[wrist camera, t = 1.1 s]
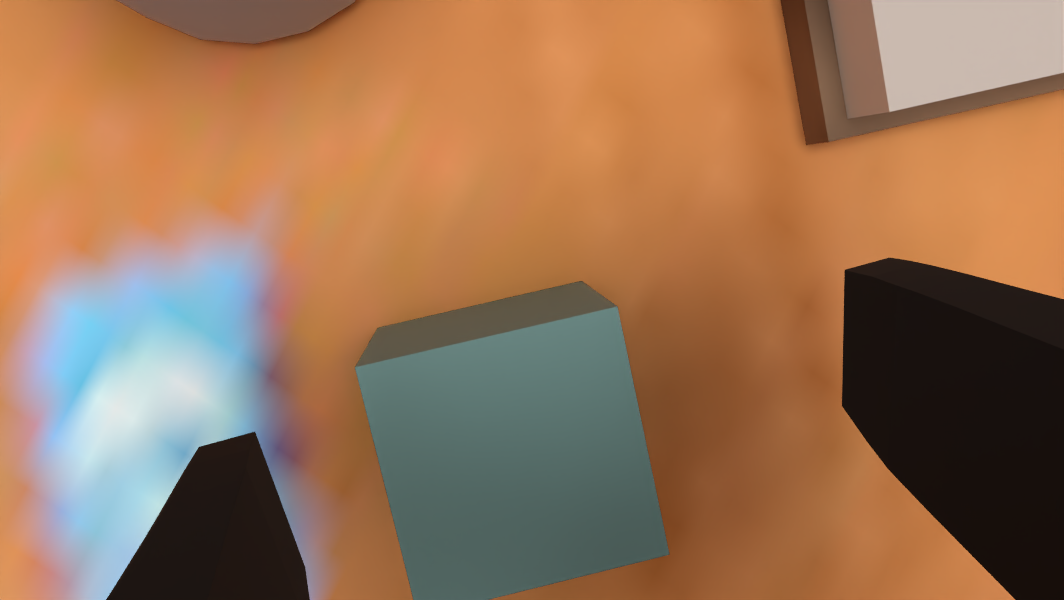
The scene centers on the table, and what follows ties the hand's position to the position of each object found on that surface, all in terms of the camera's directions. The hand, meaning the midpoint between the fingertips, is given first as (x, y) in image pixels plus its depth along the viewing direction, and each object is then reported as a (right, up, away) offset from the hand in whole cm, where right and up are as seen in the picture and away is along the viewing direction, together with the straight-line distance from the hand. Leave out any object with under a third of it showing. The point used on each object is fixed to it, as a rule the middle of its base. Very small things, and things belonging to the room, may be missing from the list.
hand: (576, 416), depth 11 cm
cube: (-1, -1, +11) cm, 12 cm away
